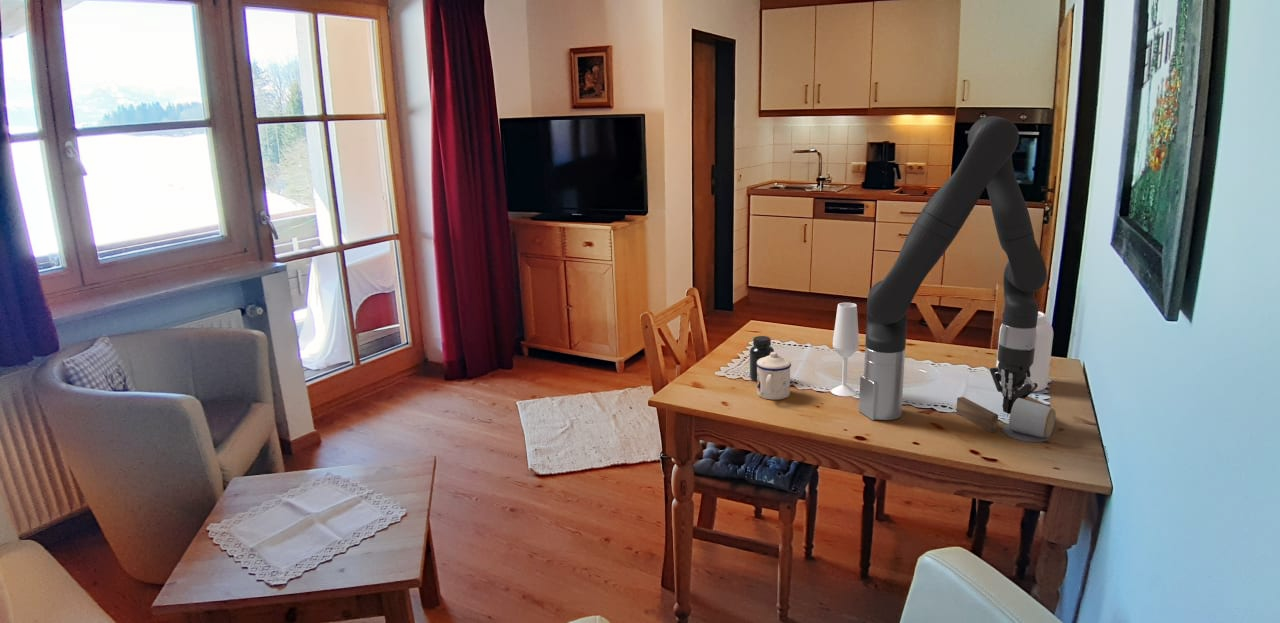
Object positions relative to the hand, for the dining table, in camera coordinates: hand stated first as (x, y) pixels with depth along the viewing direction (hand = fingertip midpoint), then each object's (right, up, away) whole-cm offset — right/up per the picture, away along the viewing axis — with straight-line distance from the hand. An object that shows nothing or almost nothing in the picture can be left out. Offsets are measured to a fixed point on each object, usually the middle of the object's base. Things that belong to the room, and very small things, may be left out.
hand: (1008, 412), depth 176 cm
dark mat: (+1, -4, -6) cm, 7 cm away
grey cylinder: (+2, -4, -6) cm, 7 cm away
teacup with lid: (-52, +1, +21) cm, 57 cm away
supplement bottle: (-53, +5, +34) cm, 63 cm away
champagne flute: (-33, +2, +22) cm, 40 cm away
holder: (0, -2, +3) cm, 3 cm away
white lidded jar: (+14, +4, +23) cm, 27 cm away
